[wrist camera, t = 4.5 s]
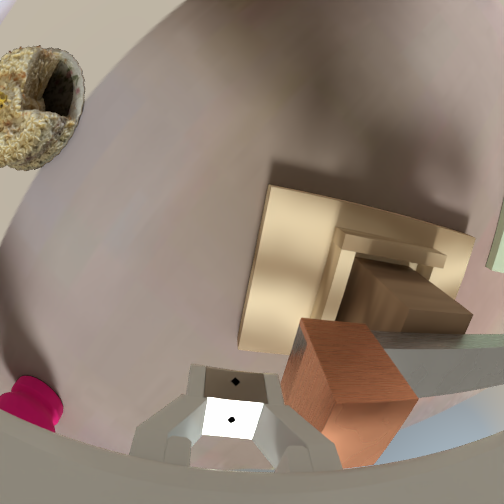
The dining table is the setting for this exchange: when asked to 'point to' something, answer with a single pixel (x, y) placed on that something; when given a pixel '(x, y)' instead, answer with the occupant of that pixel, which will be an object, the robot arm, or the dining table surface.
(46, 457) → the robot arm
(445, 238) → the well board
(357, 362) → the bar
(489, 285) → the dining table surface
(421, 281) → the walnut block
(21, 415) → the pepper mill
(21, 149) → the cake
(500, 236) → the sage pad
